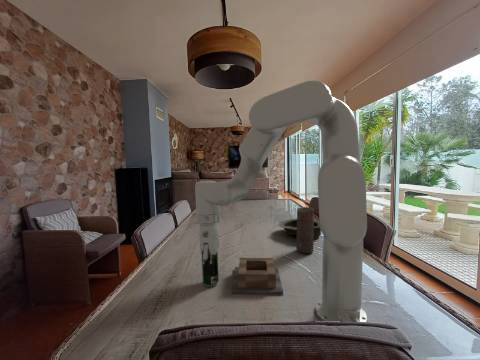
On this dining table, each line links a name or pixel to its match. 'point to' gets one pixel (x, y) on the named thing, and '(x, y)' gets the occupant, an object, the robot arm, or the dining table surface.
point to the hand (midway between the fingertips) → (210, 270)
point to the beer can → (214, 279)
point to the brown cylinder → (305, 229)
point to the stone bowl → (291, 227)
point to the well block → (256, 277)
